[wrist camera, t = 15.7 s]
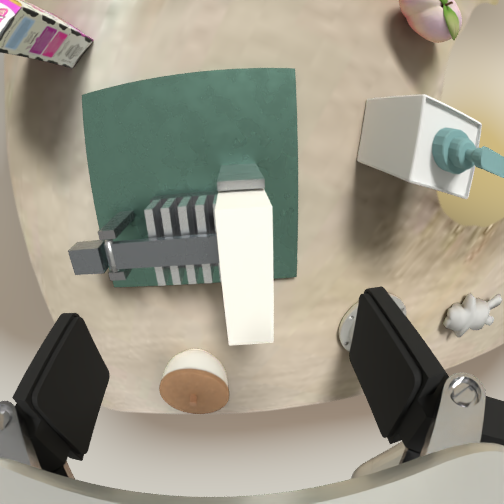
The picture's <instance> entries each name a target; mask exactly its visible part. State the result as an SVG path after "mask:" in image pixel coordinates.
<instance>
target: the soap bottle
mask: <svg viewBox="0 0 504 504" xmlns="http://www.w3.org/2000/svg"><path fill="white" fill-rule="evenodd" d="M481 127H482V124H481V123H480V122H478V121H477V120H475V119H473V118H471V117H469V116H468V115H466V114H464V113H462V112H460V111H458V110H456V109H454V108H453V107H451V106H449V105H447V104H445V103H442V102H440V101H438V100H436V99H434V98H432V97H430V96H427V95H425V94H421V95H404V96H391V97H380V98H370V99H367V101H366V108H365V115H364V122H363V128H362V134H361V140H360V146H359V151H358V157H357V161H358V162H360V163H362V164H365V165H368V166H370V167H373V168H375V169H378V170H381V171H383V172H386V173H388V174H390V175H393V176H395V177H398V178H400V179H402V180H405V181H407V182H409V183H413V184H416V185H420V186H424V187H427V188H431V189H434V190H438V191H441V192H445V193H448V194H451V195H454V196H457V197H461V198H464V199H467V198H468V196H469V191H470V187H471V183H472V179H473V174H474V169H475V166H476V167H478V168H481V169H484V170H486V171H488V172H490V173H493V174H495V175H498V176H500V177H503V178H504V157H503V156H501V155H500V154H498V153H496V152H494V151H493V150H491V149H489V148H487V147H484V146H483V147H482V148H479V141H480V135H481Z"/></svg>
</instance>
